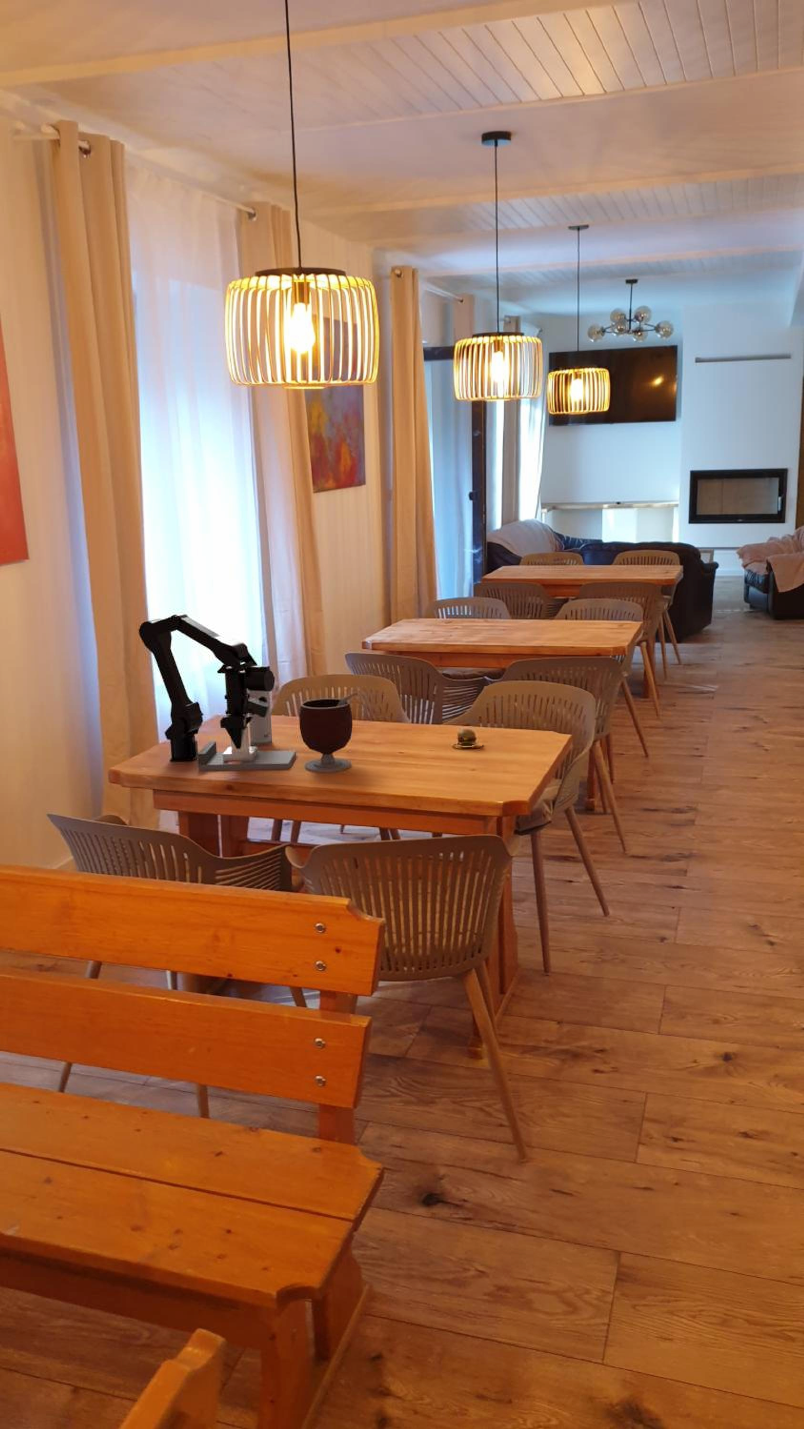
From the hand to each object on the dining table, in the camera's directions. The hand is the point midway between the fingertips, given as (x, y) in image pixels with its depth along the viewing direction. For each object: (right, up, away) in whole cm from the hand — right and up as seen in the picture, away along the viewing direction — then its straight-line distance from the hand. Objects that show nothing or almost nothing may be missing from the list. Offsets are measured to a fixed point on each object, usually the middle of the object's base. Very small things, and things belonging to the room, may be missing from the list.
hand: (240, 746), depth 306 cm
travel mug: (+3, 0, +22) cm, 23 cm away
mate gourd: (+25, -5, -5) cm, 26 cm away
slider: (0, -3, +1) cm, 3 cm away
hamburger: (+62, -1, +12) cm, 63 cm away
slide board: (+2, -4, +1) cm, 5 cm away
